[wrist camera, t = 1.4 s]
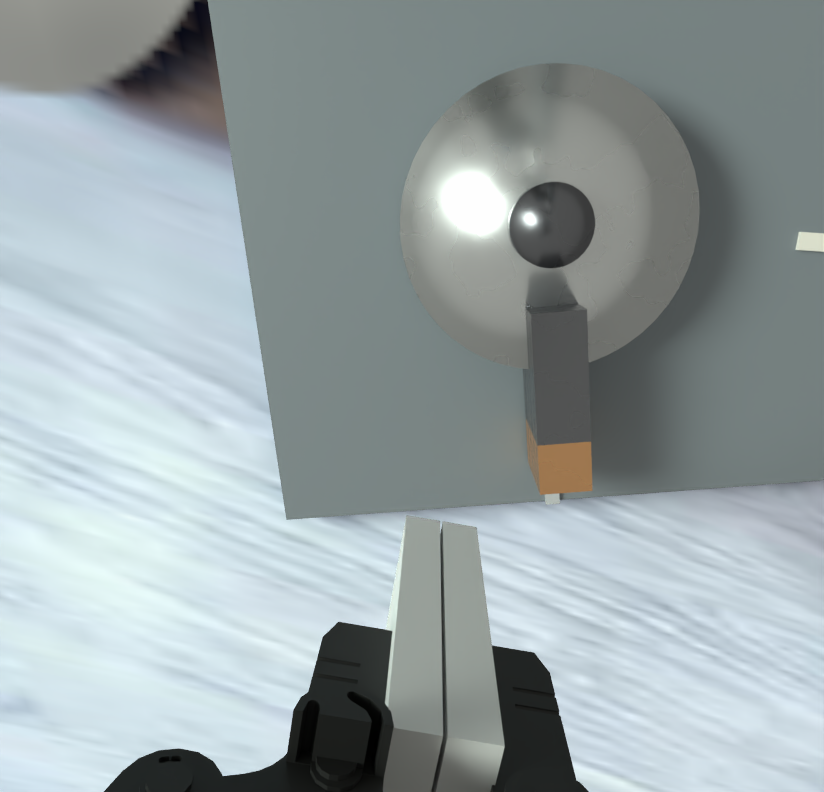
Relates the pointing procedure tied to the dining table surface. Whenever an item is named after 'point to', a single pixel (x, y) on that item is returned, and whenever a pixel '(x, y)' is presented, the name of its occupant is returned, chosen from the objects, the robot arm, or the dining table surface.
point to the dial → (550, 237)
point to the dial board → (419, 333)
